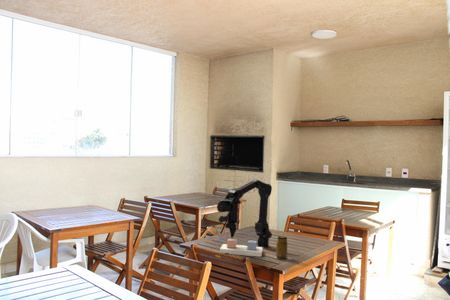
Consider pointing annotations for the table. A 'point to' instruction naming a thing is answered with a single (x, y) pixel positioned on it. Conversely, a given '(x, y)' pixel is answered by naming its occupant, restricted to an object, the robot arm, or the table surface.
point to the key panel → (241, 250)
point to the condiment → (282, 248)
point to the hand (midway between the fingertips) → (232, 237)
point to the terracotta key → (231, 243)
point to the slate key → (251, 244)
